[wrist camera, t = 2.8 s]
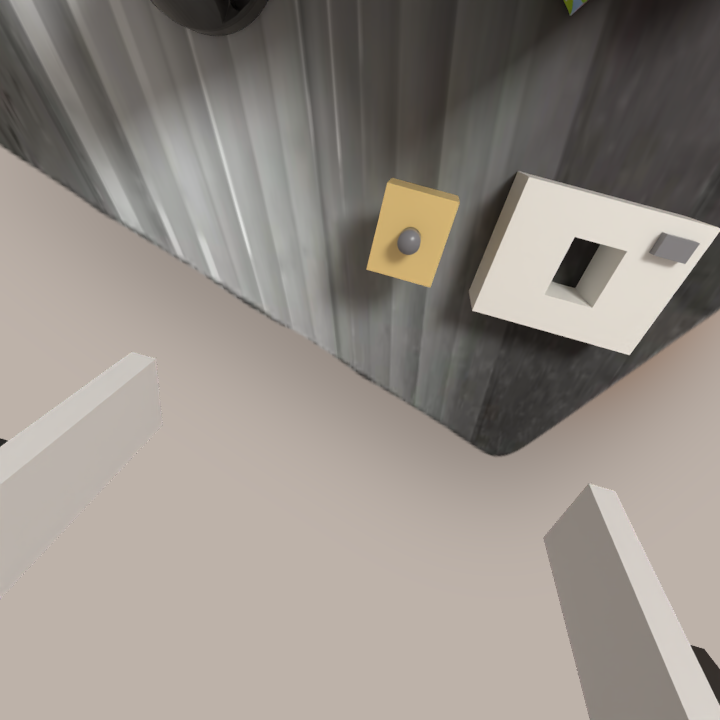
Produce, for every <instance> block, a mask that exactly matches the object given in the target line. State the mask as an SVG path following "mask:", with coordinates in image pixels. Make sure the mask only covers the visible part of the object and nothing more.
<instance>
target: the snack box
mask: <svg viewBox="0 0 720 720" xmlns="http://www.w3.org/2000/svg"><path fill="white" fill-rule="evenodd" d="M563 1H564V3H565V5H566V7H567V9H568V11H569V15H572V14H573V13H575V12H576V11H577V10H578V9H579V8H580V7H582V6H583V5H584V4H585V3H586V2H588V1H589V0H563Z"/></svg>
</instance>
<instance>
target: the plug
mask: <svg viewBox="0 0 720 720" xmlns="http://www.w3.org/2000/svg"><path fill="white" fill-rule="evenodd" d="M459 203H460V201H459V198H458V196H457V195H453V194H450V193H446V192H442V191H439V190H435V189H431V188H428V187H424V186H420V185H417V184H413V183H409V182H406V181H402V180H398V179H395V178H391V179H390V180H389V181H388V182H387V186H386V190H385V194H384V198H383V203H382V207H381V211H380V215H379V219H378V223H377V227H376V232H375V236H374V240H373V244H372V248H371V252H370V256H369V261H368V265H367V269H366V270H370V271H374V272H377V273H381V274H384V275H388V276H391V277H395V278H398V279H402V280H405V281H409V282H413V283H416V284H420V285H423V286H427V287H431V284H432V281H433V279H434V276H435V273H436V270H437V267H438V264H439V261H440V258H441V255H442V253H443V250H444V247H445V244H446V241H447V238H448V235H449V232H450V229H451V227H452V224H453V221H454V218H455V215H456V212H457V209H458V206H459Z"/></svg>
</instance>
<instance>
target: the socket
mask: <svg viewBox="0 0 720 720" xmlns="http://www.w3.org/2000/svg"><path fill="white" fill-rule="evenodd" d="M719 232H720V228H718V227H715V226H712V225H709V224H707V223H704V222H701V221H698V220H695V219H692V218H689V217H687V216H683V215H679V214H676V213H672V212H668V211H665V210H661V209H657V208H653V207H650V206H646V205H642V204H639V203H635V202H631V201H627V200H624V199H620V198H616V197H613V196H609V195H605V194H602V193H598V192H594V191H590V190H587V189H583V188H579V187H576V186H572V185H568V184H564V183H561V182H557V181H553V180H550V179H546V178H542V177H539V176H535V175H531V174H527V173H524V172H520V171H518V172H517V174H516V177H515V179H514V182H513V184H512V187H511V189H510V191H509V194H508V196H507V199H506V201H505V204H504V206H503V209H502V211H501V213H500V216H499V218H498V221H497V223H496V226H495V228H494V231H493V233H492V236H491V238H490V240H489V243H488V245H487V248H486V250H485V253H484V255H483V258H482V260H481V262H480V265H479V267H478V270H477V272H476V275H475V277H474V280H473V282H472V285H471V287H470V289H469V296H470V301H471V307H472V311H476V312H479V313H483V314H486V315H490V316H493V317H497V318H500V319H504V320H507V321H511V322H514V323H518V324H521V325H525V326H529V327H532V328H536V329H539V330H543V331H546V332H550V333H553V334H557V335H560V336H564V337H567V338H571V339H575V340H578V341H582V342H585V343H589V344H592V345H596V346H599V347H603V348H606V349H610V350H613V351H617V352H621V353H624V354H628V355H630V354H631V352H632V351H633V350H634V348H635V347H636V346H637V344H638V343H639V341H640V340H641V339H642V337H643V336H644V335H645V333H646V332H647V330H648V329H649V328H650V326H651V325H652V324H653V322H654V321H655V319H656V318H657V317H658V315H659V314H660V313H661V311H662V310H663V309H664V307H665V306H666V304H667V303H668V302H669V300H670V299H671V298H672V296H673V295H674V293H675V292H676V291H677V289H678V288H679V287H680V285H681V284H682V282H683V281H684V280H685V278H686V277H687V276H688V274H689V273H690V272H691V270H692V269H693V267H694V266H695V265H696V263H697V262H698V261H699V259H700V258H701V256H702V255H703V254H704V252H705V251H706V250H707V248H708V247H709V245H710V244H711V243H712V241H713V240H714V239H715V237H716V236H717V235H718V233H719ZM575 237H577V238H580V239H584V240H588V241H591V242H595V243H599V244H600V246H599V247H598V249H597V251H596V253H595V254H594V256H593V258H592V260H591V261H590V263H589V265H588V267H587V268H586V270H585V272H584V274H583V275H582V277H581V279H580V281H579V282H578V284H577V286H576V288H573V287H569V286H566V285H562V284H558V283H555V282H551V281H552V279H553V277H554V275H555V274H556V272H557V270H558V268H559V266H560V264H561V262H562V260H563V258H564V256H565V255H566V253H567V251H568V249H569V247H570V245H571V243H572V241H573V239H574V238H575Z"/></svg>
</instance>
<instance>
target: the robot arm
mask: <svg viewBox="0 0 720 720" xmlns="http://www.w3.org/2000/svg"><path fill="white" fill-rule="evenodd" d="M151 1H152V3H153V4H154V5H155V6H156V7H157V8H158V9H159V10H161V11H162V12H163V13H164V14H165V15H167V16H168V17H169V18H171V19H172V20H174V21H175V22H177V23H179V24H180V25H182V26H185V27H187V28H189V29H192V30H194V31H197V32H199V33H202V34H207V35H214V36H220V35H227V34H231V33H234V32H237V31H239V30H241V29H243V28H244V27H246V26H247V25H249V24H250V23H251V22H252V21H253V20H254V19H255V18H256V17H257V16H258V15H259V13H260V12H261V11H262V9H263V8H264V7H265V5H266V3H267V1H268V0H151ZM161 427H162V415H161V405H160V394H159V383H158V373H157V362H156V358H152V357H149V356H145V355H142V354H139V353H135V352H131V353H130V354H128V355H127V356H125V357H124V358H123V359H121V360H120V361H118V362H117V363H116V364H114V365H113V366H111V367H110V368H109V369H107V370H106V371H105V372H103V373H102V374H100V375H99V376H98V377H96V378H95V379H93V380H92V381H91V382H89V383H88V384H87V385H85V386H84V387H83V388H81V389H80V390H78V391H77V392H75V393H74V394H73V395H71V396H70V397H69V398H67V399H66V400H65V401H63V402H62V403H60V404H59V405H57V406H56V407H55V408H53V409H52V410H51V411H49V412H48V413H46V414H45V415H44V416H42V417H41V418H40V419H38V420H37V421H35V422H34V423H33V424H32V425H30V426H28V427H27V428H26V429H24V430H23V431H21V432H20V433H19V434H17V435H16V436H15V437H13V438H12V439H10V440H9V441H7V440H4V439H0V599H1V597H2V596H3V595H4V594H5V593H6V592H7V591H8V590H9V589H10V588H11V587H12V586H13V585H14V584H15V583H16V581H17V580H18V579H19V578H20V577H21V576H22V575H23V574H24V573H25V572H26V571H27V570H28V569H29V568H30V567H31V565H32V564H33V563H34V562H35V561H36V560H37V559H38V558H39V557H40V556H41V555H42V554H43V553H44V552H45V551H46V549H47V548H48V547H49V546H50V545H51V544H52V543H53V542H54V541H55V540H56V539H57V538H58V537H59V536H60V534H61V533H62V532H63V531H64V530H65V529H66V528H67V527H68V526H69V525H70V524H71V523H72V522H73V521H74V520H75V518H76V517H77V516H78V515H79V514H80V513H81V512H82V511H83V510H84V509H85V508H86V506H88V505H89V503H90V502H91V501H92V500H93V499H94V498H95V497H96V496H97V495H98V494H99V493H100V492H101V491H102V490H103V489H104V487H105V486H106V485H107V484H108V483H109V482H110V481H111V480H112V479H113V478H114V477H115V476H116V475H117V474H118V472H119V471H120V470H121V469H122V468H123V467H124V466H125V465H126V464H127V463H128V462H129V461H130V460H131V459H132V457H133V456H134V455H135V454H136V453H137V452H138V451H139V450H140V449H141V448H142V447H143V446H144V445H145V444H146V443H147V441H148V440H149V439H150V438H151V437H152V436H153V435H154V434H155V433H156V432H157V431H158V430H159V429H160V428H161ZM544 542H545V546H546V550H547V554H548V558H549V562H550V566H551V569H552V573H553V577H554V581H555V585H556V589H557V593H558V597H559V601H560V605H561V609H562V613H563V616H564V620H565V624H566V628H567V632H568V636H569V639H570V644H571V648H572V651H573V656H574V659H575V663H576V667H577V671H578V675H579V679H580V683H581V687H582V691H583V695H584V698H585V702H586V706H587V710H588V714H589V718H590V720H720V669H719V668H718V666H717V665H716V664H715V663H714V661H713V660H712V658H711V657H710V656H709V655H708V653H707V652H706V651H705V649H702V648H699V647H695V646H692V645H690V644H689V642H688V640H687V637H686V636H685V633H684V632H683V629H682V627H681V625H680V623H679V621H678V619H677V617H676V615H675V613H674V611H673V609H672V607H671V605H670V603H669V601H668V599H667V597H666V595H665V592H664V590H663V588H662V586H661V584H660V582H659V580H658V578H657V576H656V574H655V572H654V570H653V568H652V566H651V564H650V562H649V560H648V558H647V555H646V554H645V551H644V549H643V548H642V545H641V543H640V541H639V539H638V537H637V535H636V533H635V531H634V529H633V527H632V525H631V523H630V521H629V519H628V517H627V515H626V512H625V510H624V509H623V506H622V504H621V502H620V500H619V498H618V496H617V494H616V492H615V491H614V490H610V489H606V488H603V487H599V486H596V485H593V484H588V485H587V486H586V487H585V488H584V490H583V491H582V492H581V493H580V494H579V496H578V497H577V498H576V499H575V501H574V502H573V503H572V504H571V505H570V506H569V508H568V509H567V510H566V511H565V512H564V514H563V515H562V516H561V517H560V519H559V520H558V521H557V522H556V523H555V525H554V526H553V527H552V528H551V529H550V530H549V532H548V533H547V534H546V535H545V536H544Z"/></svg>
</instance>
